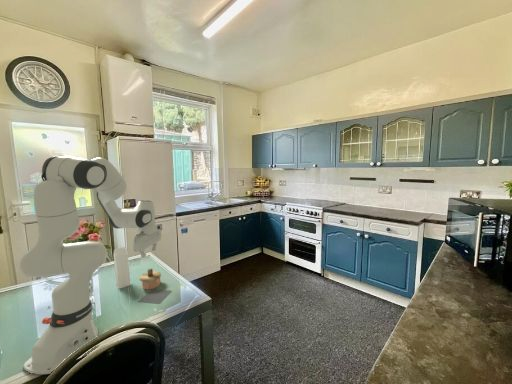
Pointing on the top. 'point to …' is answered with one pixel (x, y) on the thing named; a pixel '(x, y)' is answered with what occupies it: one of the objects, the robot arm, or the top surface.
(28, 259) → the robot arm
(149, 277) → the lid
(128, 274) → the milk
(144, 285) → the bowl
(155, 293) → the mat
